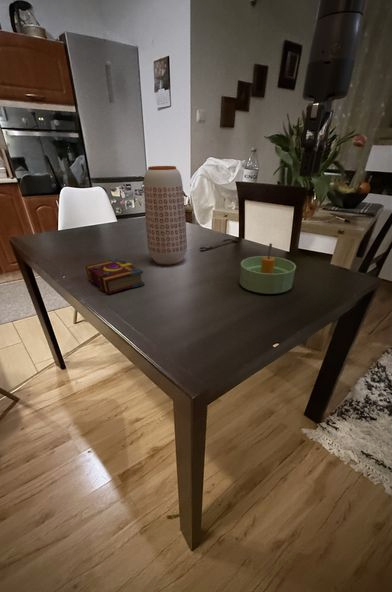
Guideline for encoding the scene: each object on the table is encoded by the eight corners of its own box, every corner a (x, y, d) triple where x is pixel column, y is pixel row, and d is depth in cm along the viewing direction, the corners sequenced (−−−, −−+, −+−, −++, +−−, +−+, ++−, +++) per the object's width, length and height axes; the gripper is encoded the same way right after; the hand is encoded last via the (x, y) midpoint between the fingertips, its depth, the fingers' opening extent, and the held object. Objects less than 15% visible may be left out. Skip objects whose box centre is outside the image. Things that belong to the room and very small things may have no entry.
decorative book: (108, 296, 76) (104, 278, 74) (86, 279, 87) (82, 262, 84) (144, 285, 82) (142, 268, 79) (120, 270, 92) (117, 255, 90)
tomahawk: (227, 240, 123) (227, 238, 123) (239, 242, 119) (239, 239, 118) (191, 249, 112) (191, 246, 111) (202, 251, 107) (202, 248, 107)
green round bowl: (287, 276, 87) (291, 256, 84) (296, 296, 75) (300, 275, 72) (238, 274, 89) (240, 255, 85) (239, 294, 77) (241, 273, 73)
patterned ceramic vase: (189, 266, 95) (187, 167, 79) (149, 269, 93) (139, 168, 77) (184, 254, 106) (182, 165, 89) (149, 256, 104) (139, 165, 88)
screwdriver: (270, 280, 83) (276, 242, 77) (271, 285, 80) (278, 245, 74) (258, 280, 83) (263, 241, 77) (259, 284, 81) (264, 245, 74)
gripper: (314, 71, 54) (297, 172, 63) (299, 54, 43) (281, 177, 53) (358, 66, 51) (333, 172, 60) (352, 47, 41) (323, 178, 50)
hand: (309, 174), depth 56 cm, fingers open, 8 cm apart
